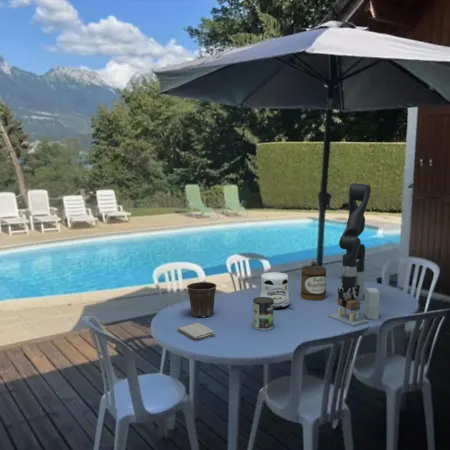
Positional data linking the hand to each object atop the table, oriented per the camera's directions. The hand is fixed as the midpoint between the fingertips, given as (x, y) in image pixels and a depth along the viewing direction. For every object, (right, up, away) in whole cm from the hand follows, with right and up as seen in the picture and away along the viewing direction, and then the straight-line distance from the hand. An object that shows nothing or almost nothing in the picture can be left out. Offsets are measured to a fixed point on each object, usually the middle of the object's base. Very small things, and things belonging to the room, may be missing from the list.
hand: (348, 305), depth 257 cm
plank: (0, -1, 0) cm, 1 cm away
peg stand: (0, -8, +1) cm, 8 cm away
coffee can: (-45, -10, -7) cm, 47 cm away
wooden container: (-11, -2, +42) cm, 43 cm away
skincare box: (+14, -7, +6) cm, 16 cm away
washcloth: (-79, -12, -15) cm, 81 cm away
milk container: (-36, -5, +26) cm, 45 cm away
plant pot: (-77, -7, +13) cm, 78 cm away
